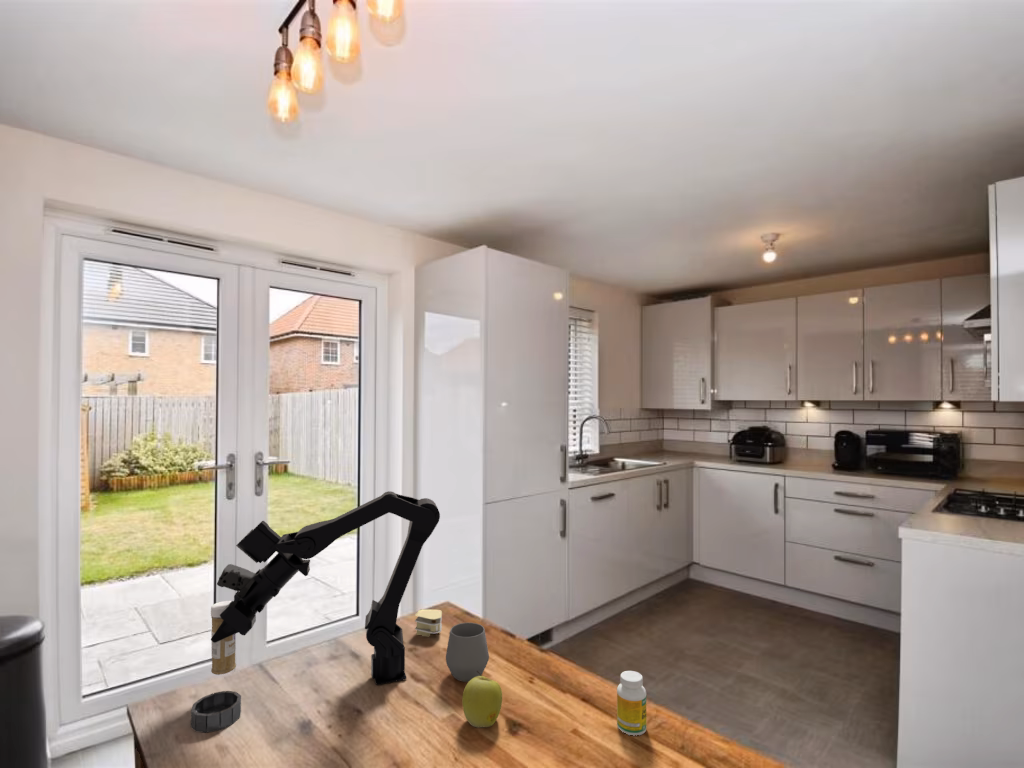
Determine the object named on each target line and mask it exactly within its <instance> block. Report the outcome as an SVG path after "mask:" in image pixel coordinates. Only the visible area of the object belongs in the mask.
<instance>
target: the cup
mask: <svg viewBox="0 0 1024 768" xmlns="http://www.w3.org/2000/svg"><path fill="white" fill-rule="evenodd" d="M487 643H488V642H487V635H486V629H485V627H484V626H483V625H482V624H480V623H476V622H461V623H458V624H455V625H453V626H452V627H451V628H450V630H449V633H448V640H447V647H446V652H445V662H446V666H447V668H448V670H449V671H450V673H451V676H452V677H453V679H455V680H456V681H459V682H464V683H465V682H466V683H468V682H469V681H470V680H471V679H472V678H474V677H477V676H483V672H484V671H485V669H486V667H487V665H488V663H489V660H490V654H489V648H488V644H487ZM477 671H478V672H479V673H480V674H481V675H480V674H479V673H478V672H477Z"/></svg>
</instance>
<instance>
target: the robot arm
mask: <svg viewBox="0 0 1024 768" xmlns="http://www.w3.org/2000/svg"><path fill="white" fill-rule="evenodd" d="M389 513H390V514H392V515H395V516H396V517H397V516H398V517H400V518H402V519H404V520H407V521H409V522H408V523H409V524H408V527H407V528H408V529H407V536H406V538H405V541H404V543H403V545H402V548H401V551H400V552H399V555H398V558H397V561H396V563H395V566H394V568H393V571H392V573H391V576H390V578H389V581H388V583H387V585H386V588H385V590H384V594H383V596H382V597H381V598H380V599H379V600H378V601H376V600H374V599H372V601H371V604H370V605H371V606H370V609H369V611H368V613H367V614H366V615H365V622H364V629H365V630H366V632H365V633H366V634H365V638H366V641H367V642H368V644H369V645H370V646H371V647H373V654H371V656H370V659H371V660H370V662H371V663H370V664H371V665H370V670H371V672H370V674H371V677H372V679H373V680H374V683H375V685H377V686H379V685H380V686H381V685H385V684H391V683H396V682H401V681H405V680H407V674H406V672H405V671H406V666H405V664H406V659H405V658H406V655H405V654H406V652H405V651H406V649H405V648H406V647H405V645H404V635H403V628H402V627H401V626H400V625H399V624H397V622H398V621H397V619H398V614H399V607H400V605H401V602H402V598H403V597H404V595H405V591H406V589H407V587H408V583H409V582H410V579H411V577H412V573H413V571H414V568H415V567H416V564H417V561H418V558H419V556H420V553H421V552H422V549H423V546H424V544H425V543H426V542H427V540H429V538H430V536H431V535H432V533H433V532H434V530H435V529H436V527H437V525H438V524H439V522H440V519H441V514H440V510H439V508H438V505H436V502H434V500H433V499H431V498H428V497H427V498H426V497H425V498H420V499H418V498H414V497H411V496H407V495H404V494H403V495H402V494H399V493H396V492H394V491H390V490H389V491H385V492H383V494H382V495H379V496H377V497H376V498H373V499H372V500H371V499H370V500H369V501H367V502H366V503H363V504H362V505H359V506H357V507H355V508H353V509H351V510H349V511H347V512H345V513H342V514H340V515H338V516H337V517H335V518H332V519H328V520H321V521H318V522H314V523H312V524H311V523H310V524H309V525H305V526H303V527H302V528H300V529H299V530H298V531H295V532H294V531H293V532H290V533H289V532H288V533H285V534H282V535H281V536H280V535H279V534H278V533H277V532H276V531H275V530H274V529H273V528H271V527H270V526H269V524H268V523H267V522H266V521H265V520H262V521H260V522H259V523H258V524H257V525H256V527H254V528H253V529H251V530H250V531H249V532H248V533H246V535H245V536H244V537H242V538H241V540H240V541H239V542H238V543H237V544H236V547H237V548H238V549H239V550H240V551H242V552H243V553H244V554H245V555H247V557H249V558H250V559H251V560H252V561H253V562H254V563H256V564H257V563H259V564H261V563H266V562H267V561H268V560H269V559H270V558H271V557H272V556H273V555H274V554H275V553H277V554H275V556H274V557H273V558H272V559H271V560H270V561H269V562H268V563H267V564H266V565H264V567H263V568H261V569H260V568H259V569H258V570H256V572H253V571H250V570H249V569H246V568H243V567H241V566H238V565H235V564H232V563H231V564H229V563H228V564H227V565H226V566H225V567H224V569H223V571H222V572H221V574H220V576H219V577H218V580H217V583H216V585H217V586H218V587H221V588H227V589H229V590H233V591H235V592H236V593H235V594H234V596H233V600H230V601H231V602H230V603H229V604H228V606H226V607H225V609H224V610H223V611H222V613H221V614H220V617H221V619H223V620H224V621H223V622H222V624H221V625H220V626H219V628H218V629H217V631H216V632H215V634H214V635H213V637H212V638H210V641H211V642H212V641H213V642H214V643H215V642H218V641H220V640H222V639H224V638H227V637H229V636H231V635H233V634H235V635H236V634H238V633H239V635H241V636H246V635H247V634H248V633H249V632H250V630H252V628H253V626H254V625H255V623H256V621H257V620H256V619H257V616H256V614H257V613H259V614H260V613H261V612H262V611H263V610H264V609H265V607H266V605H267V604H269V602H270V601H271V600H272V599H273V598H276V597H277V596H278V595H279V593H280V591H281V590H282V589H283V587H284V586H286V585H287V583H288V582H289V581H291V579H292V578H294V576H295V575H296V574H297V573H298V572H300V574H302V575H303V576H304V577H306V576H308V575H309V573H310V570H311V568H310V563H311V559H312V558H314V557H316V556H317V555H318V554H320V553H321V552H322V551H324V550H326V548H328V547H329V546H330V545H331V544H332V543H334V542H336V541H337V540H338V539H339V538H341V537H343V536H345V535H346V534H349V533H352V532H353V531H355V530H357V529H359V528H361V527H363V526H364V525H367V524H368V523H371V522H373V521H374V520H377V519H379V518H380V517H382V516H384V515H387V514H389Z"/></svg>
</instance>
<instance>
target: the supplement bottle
mask: <svg viewBox="0 0 1024 768" xmlns="http://www.w3.org/2000/svg"><path fill="white" fill-rule="evenodd" d="M619 682H620V683H619V684H618V686H617V688H616V726H617V729H618V730H619V729H620V730H621V731H622V733H623V732H624V733H626V734H628V735H627V736H630V735H633V736H632V737H638V736H637V735H639V736H642V735H643V734H645V732H646V731H647V690H646V688H645V687H644V686H643V684H644V679H643V675H642V674H641V673H640V672H638V671H634V670H625V671H622V672H621V673H620V679H619ZM620 730H619V731H620ZM621 731H620V732H621ZM624 733H623V734H624ZM626 734H625V735H626ZM635 735H636V736H635Z"/></svg>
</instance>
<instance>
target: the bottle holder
mask: <svg viewBox="0 0 1024 768" xmlns="http://www.w3.org/2000/svg"><path fill="white" fill-rule="evenodd" d="M241 713H242V695H241V694H240V693H238V691H233V690H231V691H230V690H223V691H218V692H213V693H210V694H208V695H205V696H203V697H201V698H198V700H197V701H195V702H194V703H193V704H192V706H191V710H190V728H191V729H193V731H195V732H198V733H205V734H206V733H211V732H215V731H220V730H223V729H225V728H228V727H229V726H232V725H233V724H235V722H236V721H238V720H239V719H240V718H241V715H242V714H241Z"/></svg>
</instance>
